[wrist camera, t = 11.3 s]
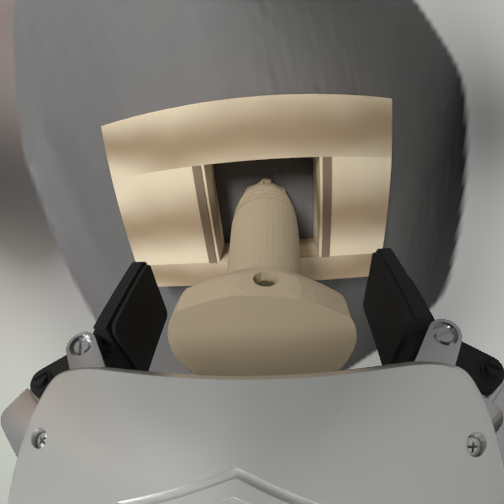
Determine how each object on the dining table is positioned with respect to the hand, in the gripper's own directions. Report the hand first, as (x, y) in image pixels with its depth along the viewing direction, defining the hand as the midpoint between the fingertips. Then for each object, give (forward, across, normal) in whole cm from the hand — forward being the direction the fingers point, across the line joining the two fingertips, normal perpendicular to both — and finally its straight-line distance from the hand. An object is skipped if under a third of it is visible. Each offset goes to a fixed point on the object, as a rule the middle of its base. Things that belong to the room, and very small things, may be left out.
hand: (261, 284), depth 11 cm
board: (+12, +1, 0) cm, 12 cm away
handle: (+12, 0, +1) cm, 12 cm away
